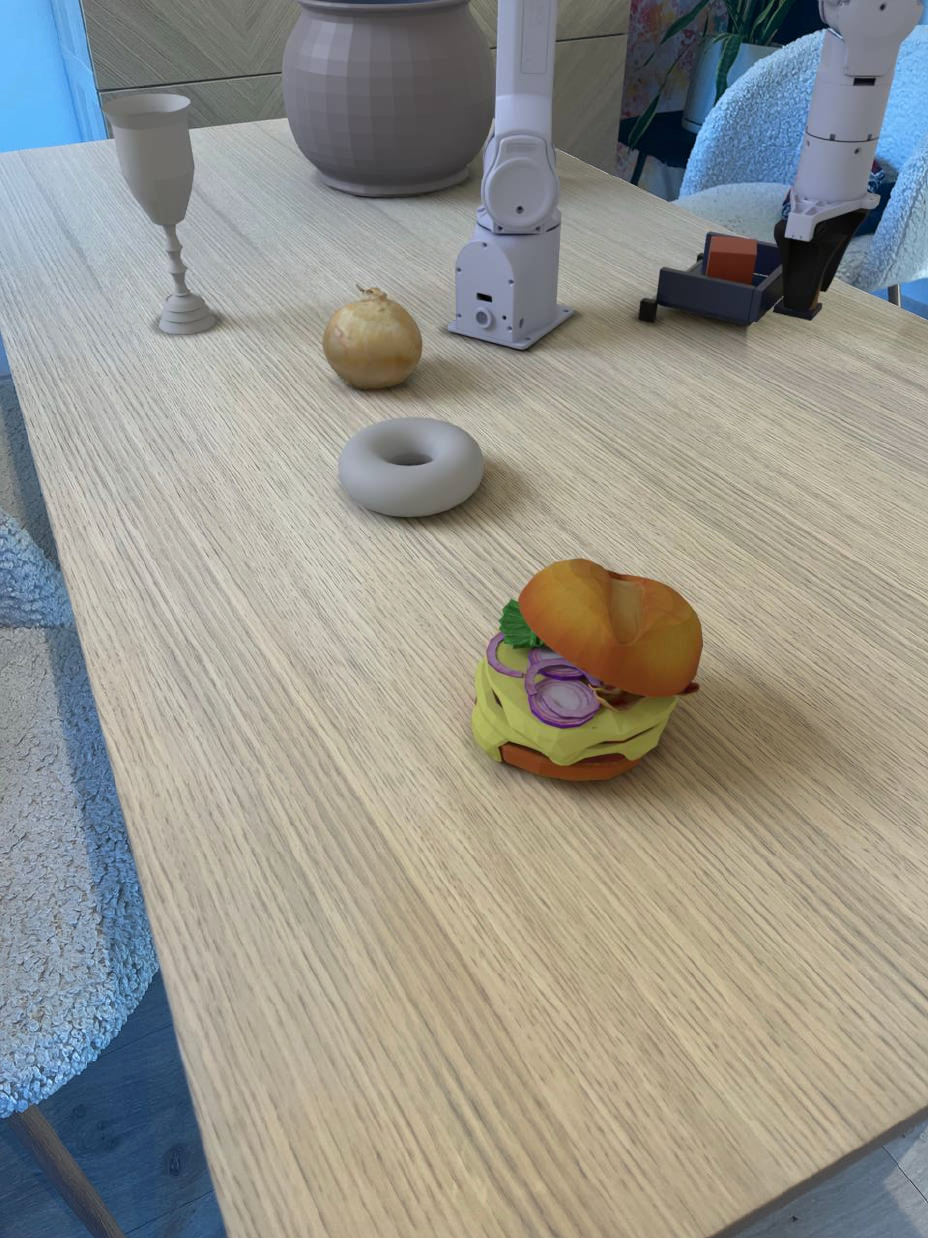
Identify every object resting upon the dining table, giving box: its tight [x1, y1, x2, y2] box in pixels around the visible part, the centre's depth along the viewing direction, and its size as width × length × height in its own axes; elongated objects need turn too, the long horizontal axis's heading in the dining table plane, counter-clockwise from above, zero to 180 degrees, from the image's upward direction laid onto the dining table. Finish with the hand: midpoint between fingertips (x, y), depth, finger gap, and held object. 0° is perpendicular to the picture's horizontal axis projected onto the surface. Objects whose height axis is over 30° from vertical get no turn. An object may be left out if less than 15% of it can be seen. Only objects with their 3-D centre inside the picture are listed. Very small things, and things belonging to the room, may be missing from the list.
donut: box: [337, 416, 486, 518], centre depth 69 cm, size 10×4×10 cm
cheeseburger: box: [470, 557, 704, 782], centre depth 50 cm, size 10×11×10 cm
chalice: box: [100, 93, 217, 335], centre depth 86 cm, size 7×7×18 cm
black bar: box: [637, 252, 707, 323], centre depth 95 cm, size 14×1×2 cm, turn 148°
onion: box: [321, 283, 423, 391], centre depth 80 cm, size 8×8×7 cm
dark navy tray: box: [651, 230, 823, 327], centre depth 91 cm, size 12×14×5 cm
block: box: [706, 236, 758, 285], centre depth 91 cm, size 4×4×4 cm
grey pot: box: [281, 0, 496, 198], centre depth 119 cm, size 25×25×20 cm
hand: (806, 298), depth 89 cm, fingers open, 5 cm apart
